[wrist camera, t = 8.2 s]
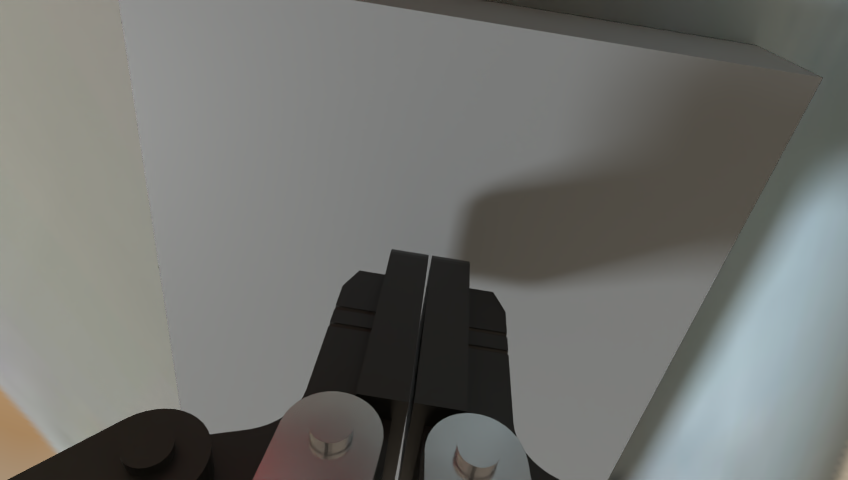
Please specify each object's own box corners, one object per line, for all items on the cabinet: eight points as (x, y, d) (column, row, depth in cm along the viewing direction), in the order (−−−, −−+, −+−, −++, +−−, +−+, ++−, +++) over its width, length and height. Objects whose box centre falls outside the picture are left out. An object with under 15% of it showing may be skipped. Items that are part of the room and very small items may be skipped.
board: (182, -51, 11) (112, -40, 9) (756, 45, 11) (822, 77, 9) (236, 558, 24) (212, 622, 22) (503, 601, 24) (506, 669, 22)
